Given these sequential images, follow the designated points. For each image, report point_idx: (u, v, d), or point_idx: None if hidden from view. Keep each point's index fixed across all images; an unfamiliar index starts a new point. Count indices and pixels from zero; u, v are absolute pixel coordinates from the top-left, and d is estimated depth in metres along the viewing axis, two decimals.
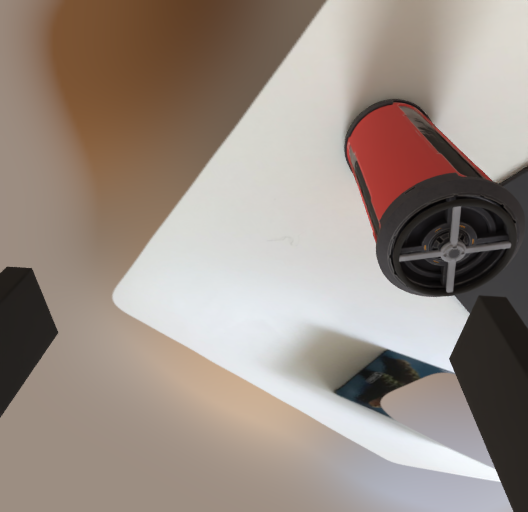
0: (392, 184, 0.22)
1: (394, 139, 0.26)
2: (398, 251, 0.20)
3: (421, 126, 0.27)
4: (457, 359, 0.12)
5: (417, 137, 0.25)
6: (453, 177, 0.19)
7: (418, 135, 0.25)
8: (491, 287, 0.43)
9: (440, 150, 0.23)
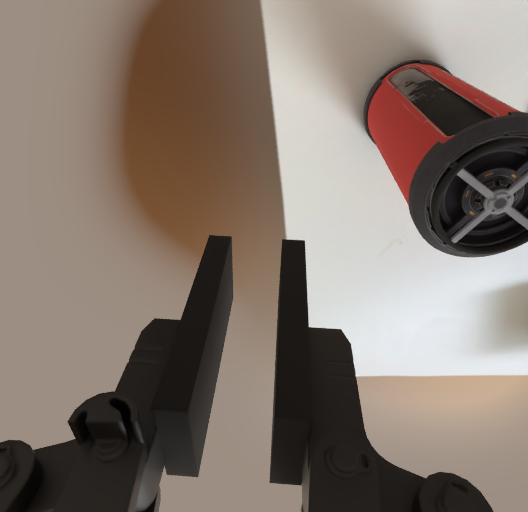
0: (403, 179, 0.22)
1: (391, 127, 0.25)
2: (444, 237, 0.20)
3: (411, 90, 0.26)
4: None
5: (406, 113, 0.24)
6: (437, 149, 0.18)
7: (406, 109, 0.24)
8: None
9: (430, 111, 0.22)
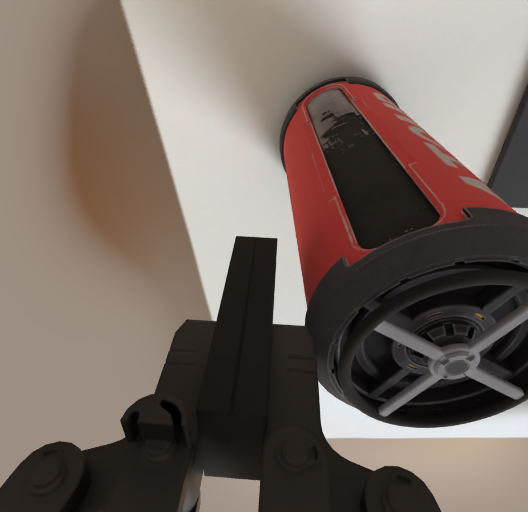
0: (305, 292, 0.13)
1: (296, 189, 0.17)
2: (367, 412, 0.11)
3: (327, 128, 0.18)
4: None
5: (313, 171, 0.15)
6: (338, 276, 0.10)
7: (314, 165, 0.16)
8: None
9: (343, 176, 0.14)
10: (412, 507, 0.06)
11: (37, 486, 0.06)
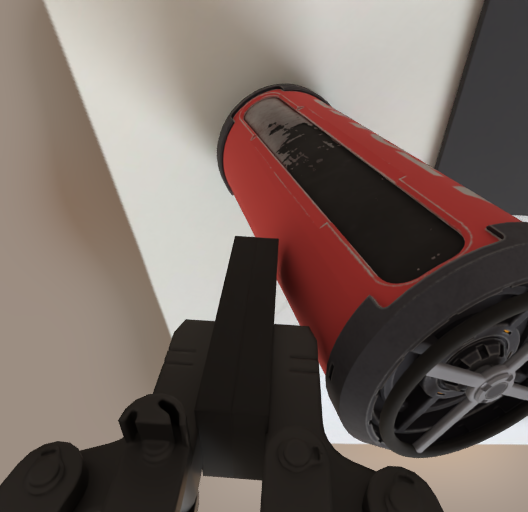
0: None
1: (262, 212, 0.15)
2: (406, 454, 0.10)
3: (281, 142, 0.16)
4: None
5: (282, 192, 0.14)
6: (373, 320, 0.09)
7: (282, 185, 0.14)
8: None
9: (325, 196, 0.12)
10: (415, 507, 0.06)
11: (35, 486, 0.06)
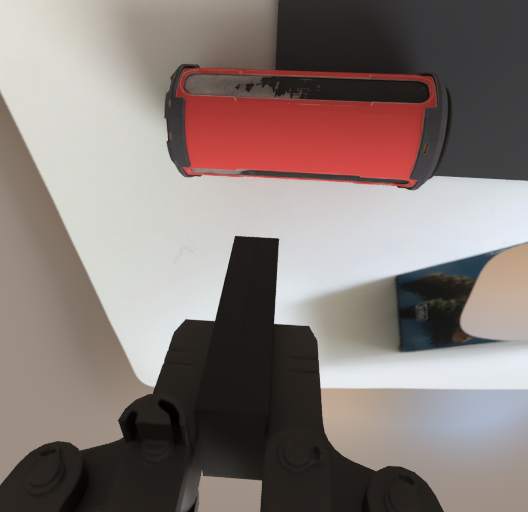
0: (387, 156, 0.24)
1: (306, 129, 0.24)
2: None
3: (269, 91, 0.24)
4: None
5: (321, 108, 0.23)
6: (436, 112, 0.23)
7: (315, 105, 0.23)
8: None
9: (349, 97, 0.23)
10: (414, 507, 0.06)
11: (35, 486, 0.06)
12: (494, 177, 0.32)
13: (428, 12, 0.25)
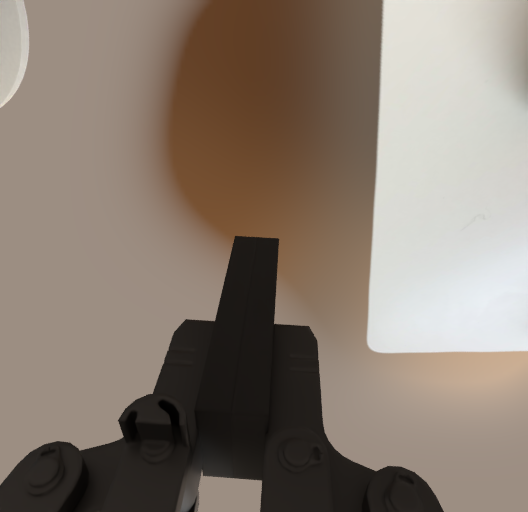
0: None
1: None
2: None
3: None
4: None
5: None
6: None
7: None
8: None
9: None
10: (415, 507, 0.06)
11: (35, 486, 0.06)
12: None
13: None
